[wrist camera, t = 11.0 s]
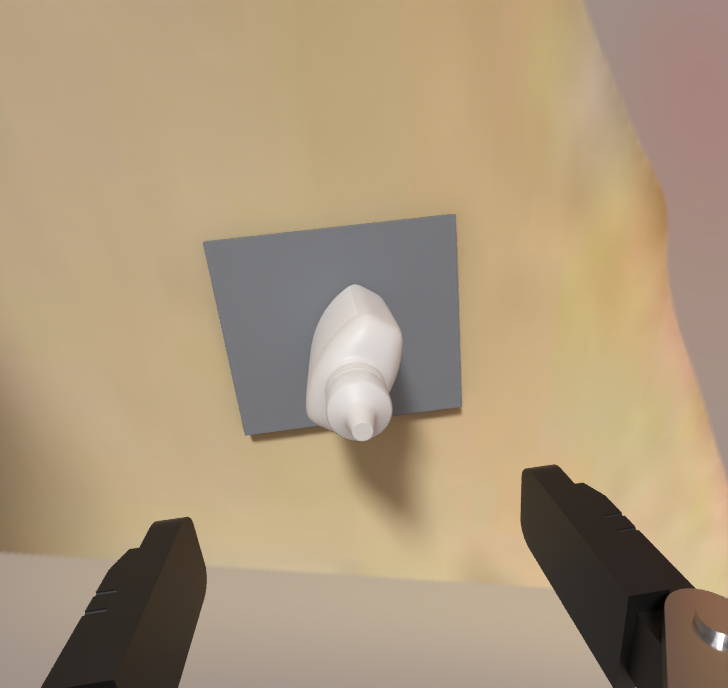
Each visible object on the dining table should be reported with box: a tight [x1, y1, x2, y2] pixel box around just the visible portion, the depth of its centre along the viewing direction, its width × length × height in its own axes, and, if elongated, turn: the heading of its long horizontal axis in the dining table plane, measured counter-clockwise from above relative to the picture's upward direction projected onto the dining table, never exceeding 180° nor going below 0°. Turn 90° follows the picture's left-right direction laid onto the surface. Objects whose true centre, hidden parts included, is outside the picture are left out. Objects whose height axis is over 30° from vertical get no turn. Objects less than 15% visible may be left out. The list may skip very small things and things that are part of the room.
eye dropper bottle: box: [306, 284, 403, 441], centre depth 20 cm, size 4×6×12 cm
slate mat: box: [203, 214, 462, 436], centre depth 26 cm, size 14×12×1 cm
